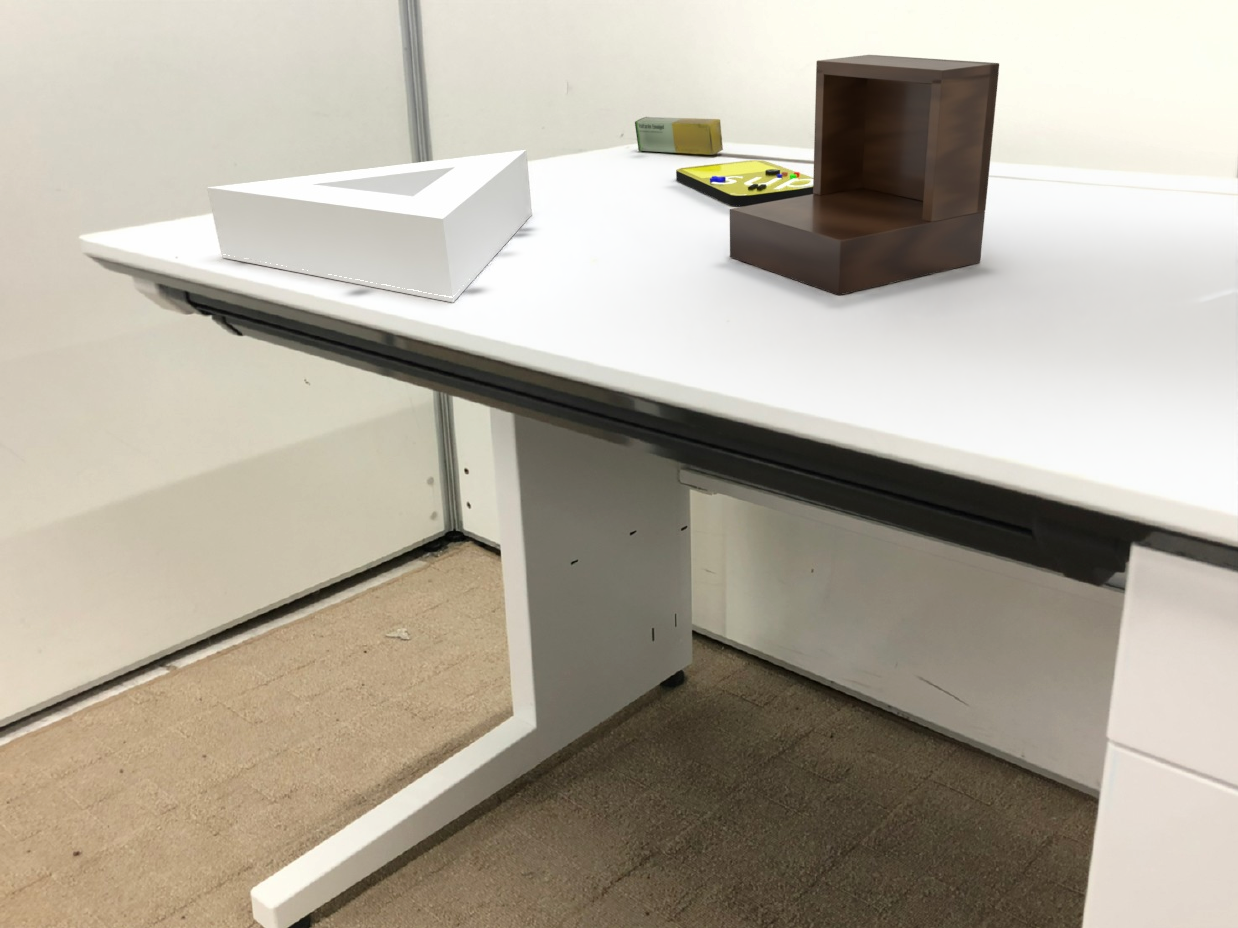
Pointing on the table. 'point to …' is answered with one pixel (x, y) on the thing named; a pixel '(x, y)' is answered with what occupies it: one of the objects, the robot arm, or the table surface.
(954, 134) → the shelf unit
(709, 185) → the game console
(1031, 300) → the table surface
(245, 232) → the triangle block
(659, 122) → the medication box
